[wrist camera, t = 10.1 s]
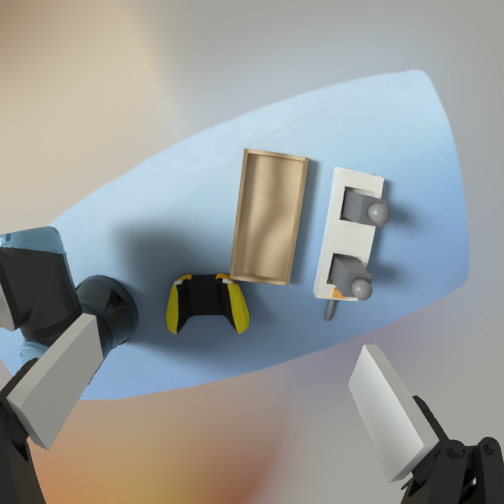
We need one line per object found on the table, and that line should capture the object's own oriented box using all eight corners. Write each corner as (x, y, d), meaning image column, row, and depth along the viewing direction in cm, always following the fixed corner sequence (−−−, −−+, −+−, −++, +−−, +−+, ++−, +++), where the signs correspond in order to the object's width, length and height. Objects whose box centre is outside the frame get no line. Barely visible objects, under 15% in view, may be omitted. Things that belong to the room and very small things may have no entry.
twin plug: (327, 275, 48) (347, 303, 36) (332, 253, 46) (355, 277, 35) (348, 277, 48) (372, 305, 37) (352, 256, 47) (379, 279, 36)
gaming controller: (250, 320, 51) (247, 270, 48) (250, 336, 45) (247, 282, 43) (172, 321, 51) (164, 272, 48) (165, 336, 46) (155, 284, 43)
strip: (306, 317, 50) (310, 328, 47) (334, 167, 43) (341, 167, 39) (344, 320, 51) (350, 330, 47) (376, 177, 43) (386, 177, 40)
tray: (230, 274, 48) (229, 279, 46) (244, 149, 42) (244, 148, 40) (286, 280, 48) (288, 285, 46) (306, 158, 43) (308, 157, 40)
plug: (343, 190, 43) (371, 196, 32) (364, 194, 44) (396, 202, 33) (339, 213, 45) (366, 227, 33) (360, 217, 45) (391, 231, 34)
